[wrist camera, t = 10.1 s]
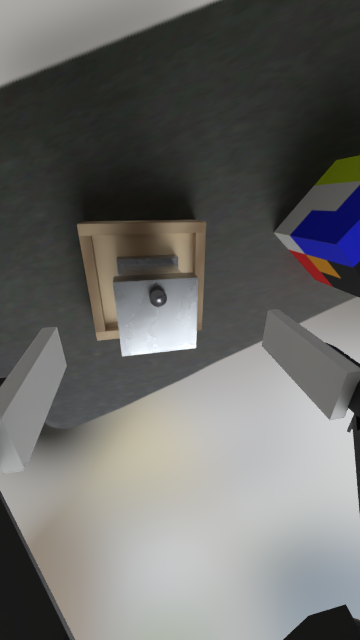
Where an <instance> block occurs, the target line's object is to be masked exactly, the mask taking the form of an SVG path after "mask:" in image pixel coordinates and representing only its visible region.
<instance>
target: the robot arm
mask: <svg viewBox="0 0 360 640" xmlns="http://www.w3.org/2000/svg"><path fill="white" fill-rule="evenodd" d="M262 346H263V347H264V349H265V350H266V351H267V352H268V353H269V354H270V355H271V356H272V357H273V358H274V359H275V360H276V362H277V363H278V364H279V365H280V366H281V367H282V368H283V369H284V370H285V372H287V374H288V375H289V376H290V377H291V378H292V379H293V380H294V381H295V382H296V383H297V385H298V386H299V387H300V388H301V389H302V390H303V391H304V392H305V393H306V394H307V396H309V398H310V399H311V400H312V401H313V402H314V403H315V404H316V405H317V406H318V408H319V409H320V410H321V411H322V412H323V413H324V414H325V415H326V416H327V417H328V419H330V420H333V419H339V418H344V416H345V415H346V412H347V410H348V408H349V409H350V410H351V411H353V412H354V416H353V418H352V421H351V423H350V425H349V427H348V430H347V431H348V432H350V431H351V429H353V437H354V449H355V461H356V473H357V486H358V498H359V511H360V364H359V363H358V362H356V361H355V360H354V359H352V358H350V357H349V356H348V355H346V354H344V352H342V351H341V350H339V349H338V348H336V347H334V346H332V345H330V344H328V343H325V342H323V341H322V340H320V339H319V338H318V337H316V336H315V335H313V334H312V333H311V332H309V331H308V330H307V329H305V328H304V327H302V326H301V325H300V324H298V323H297V322H295V321H294V320H293V319H291V318H290V317H289V316H287V315H286V314H284V313H283V312H282V311H280V310H279V309H277V310H268V313H267V319H266V325H265V330H264V336H263V342H262ZM66 367H67V365H66V361H65V357H64V353H63V349H62V345H61V342H60V338H59V334H58V330H57V327H49V328H42V329H41V331H40V332H39V334H38V335H37V336H36V338H35V339H34V341H33V342H32V343H31V345H30V346H29V348H28V349H27V350H26V352H25V353H24V354H23V356H22V357H21V359H20V360H19V361H18V363H17V364H16V366H15V367H14V368H13V370H12V371H11V373H10V374H9V375H8V377H7V378H0V469H1V471H2V473H3V474H5V473H11V472H18V471H23V470H25V469H26V467H27V464H28V462H29V459H30V456H31V454H32V451H33V449H34V447H35V444H36V441H37V439H38V437H39V434H40V432H41V429H42V427H43V424H44V422H45V419H46V417H47V414H48V412H49V409H50V407H51V404H52V402H53V399H54V397H55V394H56V392H57V389H58V387H59V384H60V382H61V379H62V377H63V374H64V372H65V369H66ZM0 640H75V639H74V637H73V635H72V633H71V631H70V629H69V627H68V625H67V623H66V621H65V619H64V617H63V615H62V613H61V611H60V609H59V607H58V605H57V603H56V601H55V599H54V597H53V595H52V593H51V591H50V589H49V587H48V585H47V583H46V581H45V579H44V577H43V575H42V573H41V571H40V569H39V567H38V565H37V563H36V561H35V559H34V557H33V555H32V553H31V551H30V549H29V547H28V545H27V543H26V541H25V539H24V537H23V535H22V533H21V531H20V529H19V527H18V525H17V523H16V521H15V519H14V517H13V515H12V513H11V511H10V509H9V507H8V505H7V503H6V501H5V499H4V497H3V495H2V493H1V492H0ZM283 640H360V620H358V619H355V618H353V617H352V615H351V613H350V612H349V610H348V608H347V606H346V605H342V606H339V607H336V608H333V609H330V610H326V611H323V612H320V613H316V614H313V615H310V616H308V617H307V618H306V619H305V620H304V621H303V622H301V623H300V624H299V626H297V627H296V628H295V629H294V630H293V631H292V632H291V633H290V634H289V635H288V636H287V637H286V638H285V639H283Z"/></svg>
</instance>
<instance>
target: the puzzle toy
mask: <svg viewBox="0 0 360 640" xmlns="http://www.w3.org/2000/svg"><path fill="white" fill-rule="evenodd" d="M274 234H275V235H276V236H277V237H278V238H279V239H280V240H281V241H282V243H283V244H284V245H285V246H286V247H287V248H288V249H289V250H290V252H291V253H292V254H293V255H294V256H295V257H296V258H297V260H298V261H299V262H300V263H301V264H302V265H303V266H304V267H305V269H306V270H307V271H308V272H309V273H310V274H311V275H312V276H313V278H314V279H315V280H317V281H320V282H322V283H325V284H327V285H330V286H332V287H335V288H337V289H340V290H342V291H345V292H347V293H350V294H352V295H355V296H357V297H360V155H359V156H354V157H349V158H344V159H339V160H336V161H335V162H334V163H333V164H332V166H331V167H330V168H329V169H328V170H327V171H326V172H325V174H324V175H323V176H322V177H321V178H320V179H319V181H318V182H317V183H316V184H315V185H314V186H313V187H312V189H311V190H310V191H309V192H308V193H307V194H306V196H305V197H304V198H303V199H302V200H301V201H300V202H299V204H298V205H297V206H296V207H295V208H294V209H293V211H292V212H291V213H290V214H289V215H288V216H287V217H286V219H285V220H284V221H283V222H282V223H281V224H280V226H279V227H278V228H277V229H276V230H275V231H274Z"/></svg>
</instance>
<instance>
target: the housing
mask: <svg viewBox="0 0 360 640" xmlns="http://www.w3.org/2000/svg"><path fill="white" fill-rule="evenodd" d="M116 260H117V269H118V276H114V278H113V289H114V297H115V304H116V312H117V320H118V328H119V336H120V343H121V351H122V356H129V355H138V354H147V353H156V352H165V351H174V350H183V349H191V348H196V332H197V301H198V277H197V276H196V275H195V274H194V273H193V272H188V273H182V272H181V271H180V270H179V269H178V256H177V255H176V254H172V255H147V256H122V257H117V259H116Z"/></svg>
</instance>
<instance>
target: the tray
mask: <svg viewBox="0 0 360 640" xmlns="http://www.w3.org/2000/svg"><path fill="white" fill-rule="evenodd" d="M77 228H78V234H79V239H80V245H81V251H82V256H83V262H84V268H85V273H86V279H87V285H88V290H89V296H90V302H91V307H92V313H93V319H94V324H95V330H96V336H97V340H107V339H117V338H120V336H119V328H118V320H117V312H116V304H115V297H114V289H113V278H114V276H118V269H117V260H116V259H117V257H122V256H147V255H172V254H176V255H177V256H178V269H179V270H180V271H181V272H182V273H188V272H193V273H194V274H195V275H196V276H197V277H198V301H197V330H202V311H203V287H204V262H205V238H206V222H204V221H200V220H135V221H83V222H81V223H78V224H77Z"/></svg>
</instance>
